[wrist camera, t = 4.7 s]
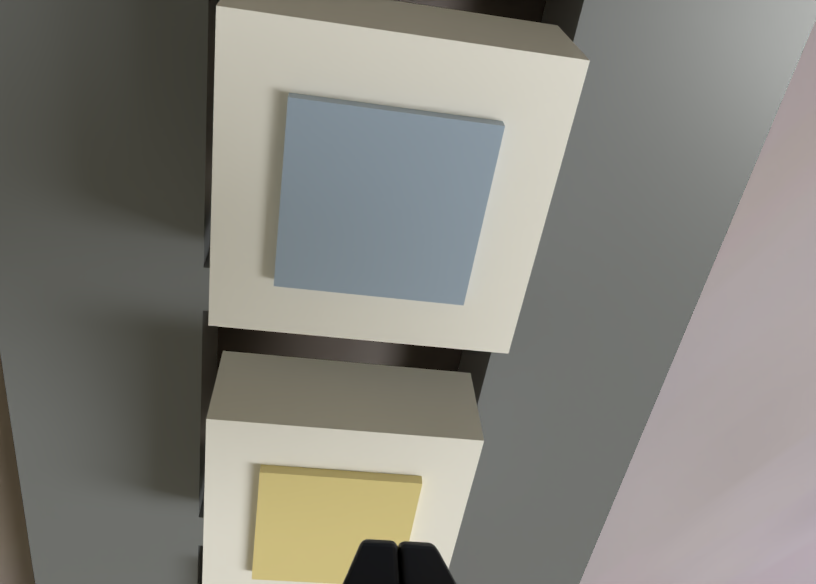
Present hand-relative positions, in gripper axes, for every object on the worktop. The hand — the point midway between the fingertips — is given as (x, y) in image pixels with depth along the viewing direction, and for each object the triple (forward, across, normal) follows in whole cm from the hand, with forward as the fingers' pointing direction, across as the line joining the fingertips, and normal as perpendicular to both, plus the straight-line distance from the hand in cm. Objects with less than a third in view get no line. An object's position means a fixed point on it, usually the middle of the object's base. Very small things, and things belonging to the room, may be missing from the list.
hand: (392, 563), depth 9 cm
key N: (+7, 0, -2) cm, 7 cm away
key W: (+7, +1, +5) cm, 8 cm away
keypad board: (+10, +1, +5) cm, 11 cm away
